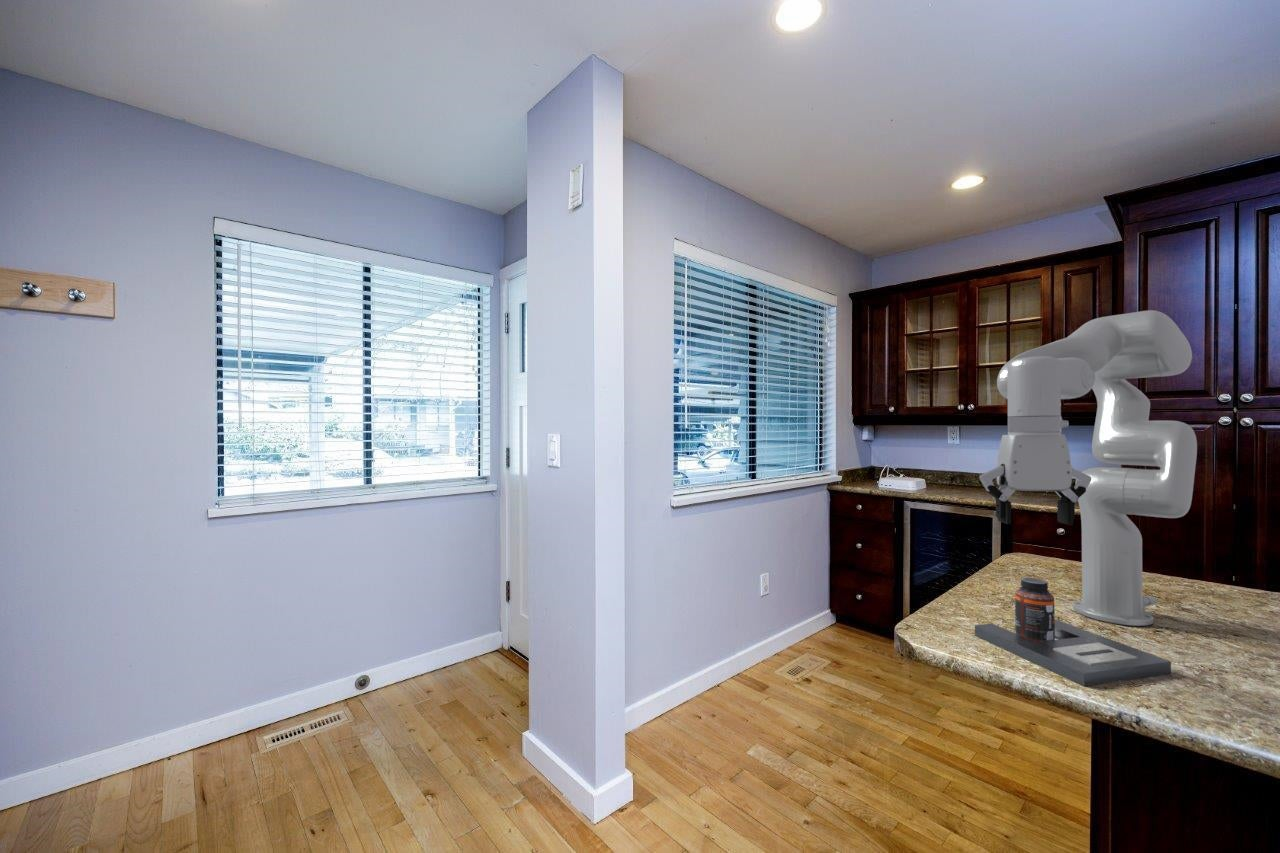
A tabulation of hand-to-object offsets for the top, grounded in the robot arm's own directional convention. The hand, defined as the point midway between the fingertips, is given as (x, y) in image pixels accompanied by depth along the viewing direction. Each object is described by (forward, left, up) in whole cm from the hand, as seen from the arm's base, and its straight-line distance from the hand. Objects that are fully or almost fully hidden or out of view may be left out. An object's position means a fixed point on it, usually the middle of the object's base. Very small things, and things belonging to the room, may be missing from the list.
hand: (1034, 523), depth 91 cm
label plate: (-6, +1, -24) cm, 24 cm away
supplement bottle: (-6, -5, -24) cm, 25 cm away
